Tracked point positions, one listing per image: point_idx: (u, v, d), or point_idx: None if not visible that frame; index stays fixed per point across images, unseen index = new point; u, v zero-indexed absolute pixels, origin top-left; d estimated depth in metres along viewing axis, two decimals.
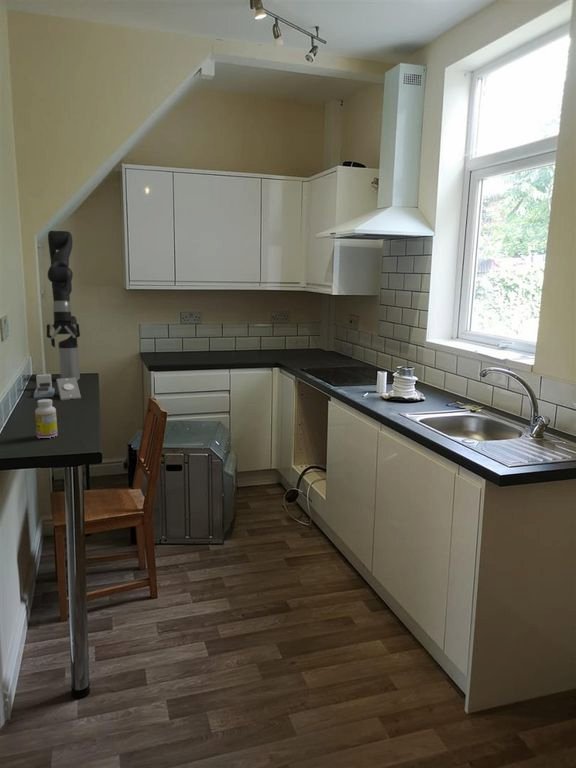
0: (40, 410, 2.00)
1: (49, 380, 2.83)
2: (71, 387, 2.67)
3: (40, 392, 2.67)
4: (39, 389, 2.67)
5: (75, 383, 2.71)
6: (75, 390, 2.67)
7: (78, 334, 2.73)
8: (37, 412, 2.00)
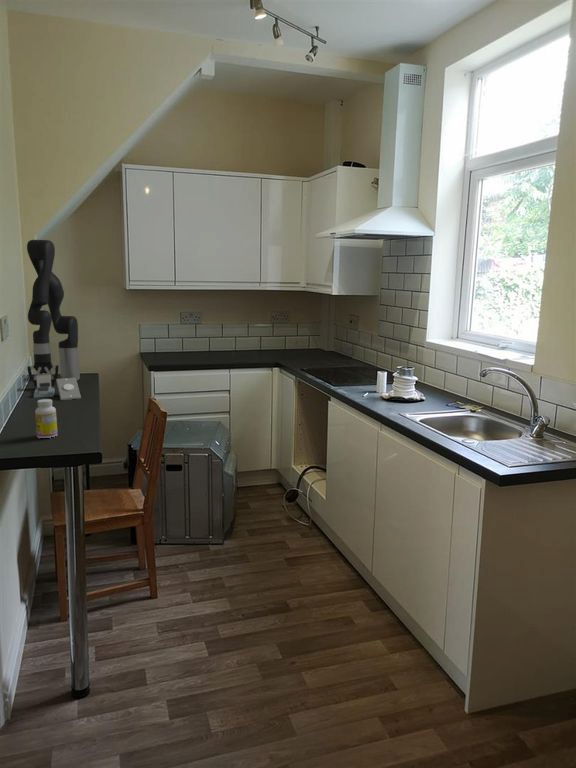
0: (40, 410, 2.00)
1: (49, 380, 2.83)
2: (71, 387, 2.67)
3: (40, 392, 2.67)
4: (39, 389, 2.67)
5: (74, 383, 2.71)
6: (75, 390, 2.67)
7: (56, 375, 2.84)
8: (37, 412, 2.00)
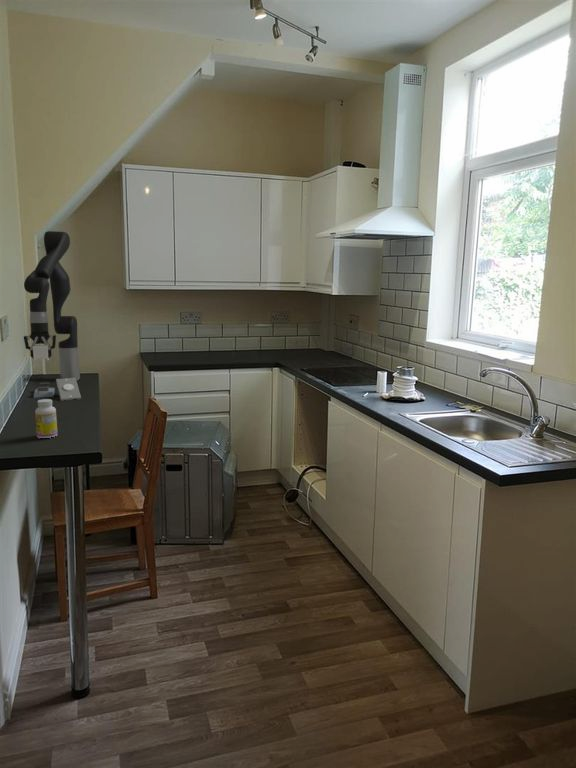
0: (40, 410, 2.00)
1: (46, 350, 2.73)
2: (71, 387, 2.66)
3: (40, 392, 2.67)
4: (39, 389, 2.67)
5: (74, 383, 2.70)
6: (75, 390, 2.67)
7: (53, 346, 2.75)
8: (37, 412, 2.00)
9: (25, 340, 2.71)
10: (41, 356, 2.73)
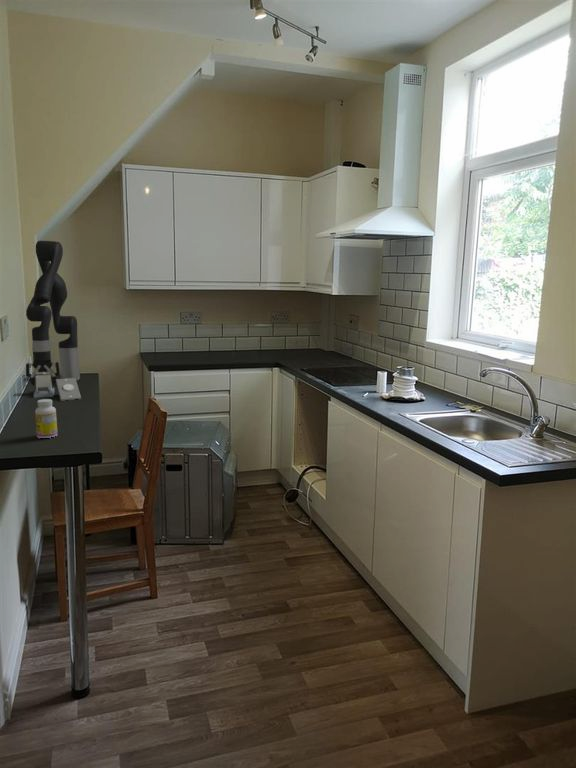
0: (40, 410, 2.00)
1: (49, 381, 2.72)
2: (71, 388, 2.66)
3: (40, 392, 2.67)
4: (39, 389, 2.67)
5: (74, 383, 2.70)
6: (75, 390, 2.66)
7: (58, 373, 2.73)
8: (37, 412, 2.00)
9: (27, 367, 2.69)
10: (44, 386, 2.71)
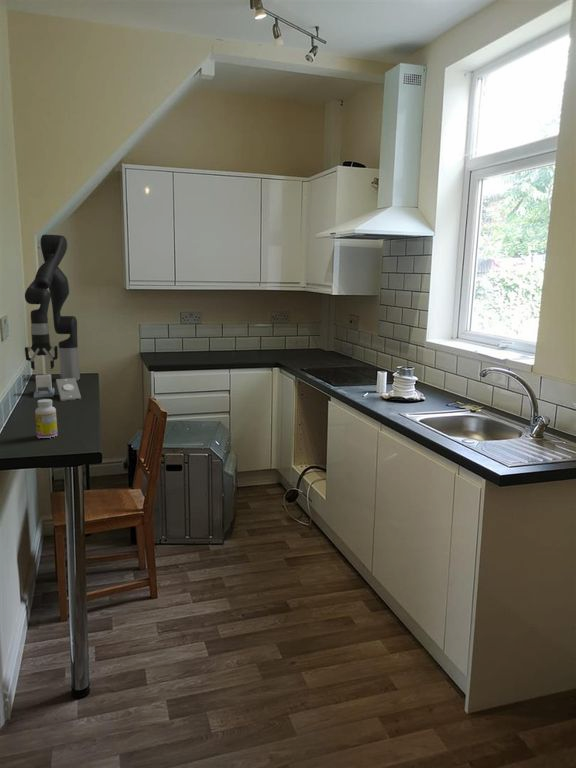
0: (40, 410, 2.00)
1: (49, 381, 2.72)
2: (71, 388, 2.66)
3: (40, 392, 2.67)
4: (39, 389, 2.67)
5: (74, 383, 2.70)
6: (75, 390, 2.66)
7: (55, 357, 2.72)
8: (37, 412, 2.00)
9: (26, 351, 2.68)
10: (44, 386, 2.71)
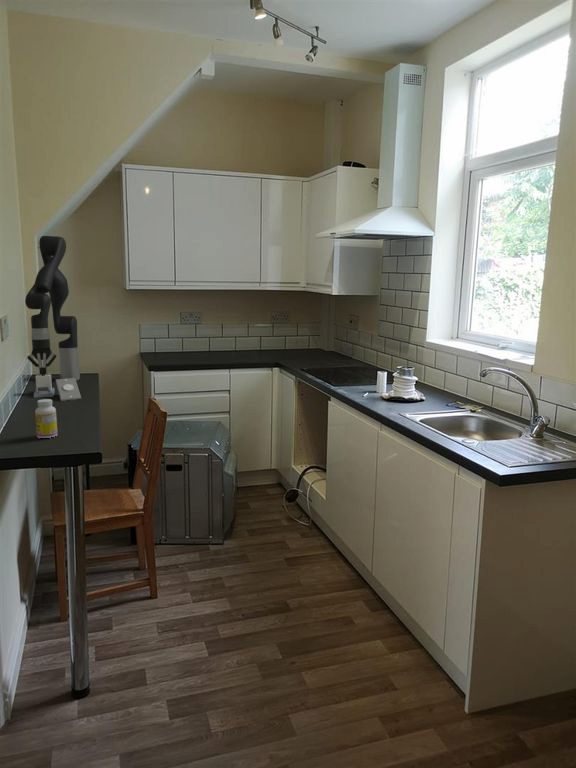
0: (40, 410, 2.00)
1: (49, 381, 2.72)
2: (71, 388, 2.66)
3: (40, 392, 2.67)
4: (39, 389, 2.67)
5: (74, 383, 2.70)
6: (75, 391, 2.66)
7: (48, 364, 2.71)
8: (37, 412, 2.00)
9: (30, 359, 2.69)
10: (44, 386, 2.71)
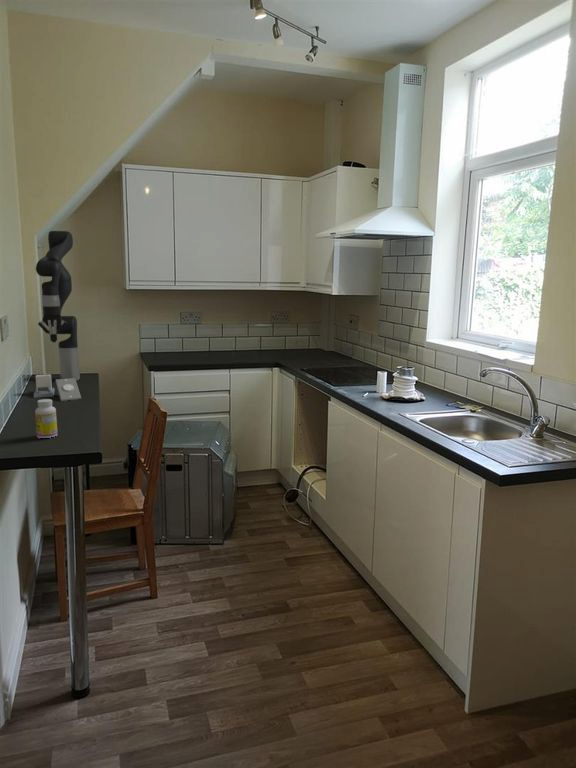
0: (40, 410, 2.00)
1: (49, 381, 2.72)
2: (71, 388, 2.65)
3: (40, 392, 2.67)
4: (39, 389, 2.67)
5: (74, 383, 2.69)
6: (75, 391, 2.66)
7: (58, 330, 2.77)
8: (37, 412, 2.00)
9: (41, 326, 2.74)
10: (44, 386, 2.71)
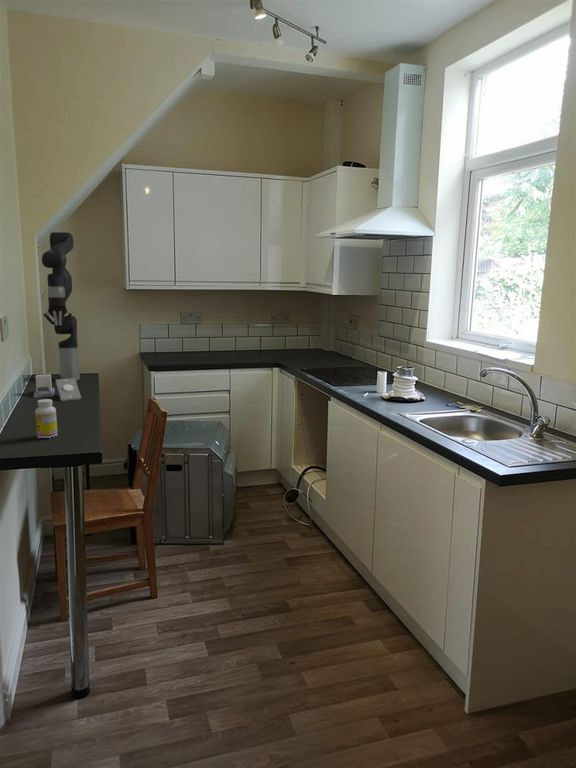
0: (40, 410, 2.00)
1: (49, 381, 2.72)
2: (71, 388, 2.65)
3: (40, 392, 2.67)
4: (39, 389, 2.67)
5: (74, 384, 2.69)
6: (75, 391, 2.65)
7: (64, 321, 2.79)
8: (37, 412, 2.00)
9: (46, 317, 2.77)
10: (44, 386, 2.71)
